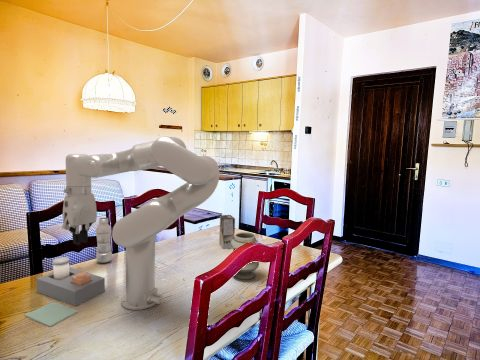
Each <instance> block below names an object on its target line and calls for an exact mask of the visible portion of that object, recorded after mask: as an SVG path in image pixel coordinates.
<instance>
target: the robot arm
mask: <svg viewBox="0 0 480 360" xmlns="http://www.w3.org/2000/svg"><path fill="white" fill-rule="evenodd" d="M159 167H162V168H164V169H165V170H167V171H169V172H170V173H172V174H173V175H174V176H176V177H178V178H179V179H181V180H183V181H184V182H186V183H184V184H182V185H180V186H179V187H177V188H176V189H174V190H172V191H171V192H168V193H167V194H165V195H162V196H160V197H157V198H155V199H152V200H150V201H149V202H147V203H145V204H143V205H142V206H140V207H138V208H137V209H135V210H134V211H132V212H130V213H128V214H126V215H125V216H123V217H121V218H120V219H119V220H117V221H116V222H115V224H114V226H113V227H112V229H111V236H112V240H113V242H114V243H115V244H116V245H118V246H119V247H121V248H125V294H124V295H123V296H122V297H121V300H120V305H121V306H122V307H123V308H124V309H127V310H131V311H140V310H146V309H149V308H151V307H154V306H155V305H160V304H161V302H162V299H163V297H164V296H163V294H160V293H159V292H158V287H156V284H155V283H156V279H155V278H156V277H155V276H156V241H157V240H156V239H157V235H158V234H160V233H161V232H163V231H165V230H166V229H167V228H169V227H170V226H171V225H173V224H174V223H175V222H176V221H177V220H179V218H181V217H183V216H184V215H186V214H188V213H190V212H191V211H193V210H194V209H196V208H197V207H199V206H200V205H201V204H203V203H205V202H206V201H208V200H209V198H210V197H211V196H212V195H213V194H214V192H215V190H216V189H217V187H218V185H219V181H220V167H219V165H218V162H217V161H216V160H215V159H214V158H213V157H211V156H210V155H209V156H208V155H200V156H199V155H197V154H195V153H194V152H192V151H191V150H189V149H188V148H187V146H186V143H185V142H184V141H183V140H182V139H181V138H179V137H176V136H160V137H158V138H156V139H155V140H152V141H147V142H142V143H137V144H134V145H133V146H132V148H130V149H126V150H122V151H119V152H112V153H101V154H90V155H89V154H86V153H71V154H67V155H66V156H65V184H66V185H65V186H66V188H64V189H63V191H62V192H63V193H64V194H66V195H64V199H63V205H62V206H63V207H62V226H61V229H63V230H66V231H69V232H70V233H71V234H72V244H73V245H77V246H80V245H81V244H82V243H85V244H86V243H88V242H89V241H88V239H89V231H90V228H91V227H92V226H93V224H95V223H96V222H97V219H98V212H97V211H98V210H97V203H96V202H97V201H96V198H95V194H94V193H92V178H93V179H95V178H96V179H97V178H103V177H107V176H114V175H118V174H123V173H128V172H132V171H144V170H149V169H155V168H159Z"/></svg>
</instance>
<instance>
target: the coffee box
mask: <svg viewBox="0 0 480 360" xmlns="http://www.w3.org/2000/svg"><path fill="white" fill-rule="evenodd" d="M235 225H236V218H235V217H234V216H233V215H232V214H221V215H219V239H218V240H219V241H218V242H219V245H220V247H221V248H222V249H223V250H226V249H233V248H232V247H231V241H232V240H233V239H234V238H235V234H236V233H235V232H236V230H235V227H236V226H235Z"/></svg>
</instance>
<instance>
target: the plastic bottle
mask: <svg viewBox="0 0 480 360" xmlns="http://www.w3.org/2000/svg"><path fill="white" fill-rule="evenodd" d="M98 223H99V224H98V225H97V226H96V228H95V236H96V242H97V243H96V244H97V245H96V246H97V247H96V248H97V249H96V256H95V258H96V261H97V262H98V263H99V264H100V263H101V264H104V263H105V264H106V263H109V262H111V260H112V259H113V252H112V247H111V236H112V227H111V225H110V224H108V223H109V217H99V219H98Z"/></svg>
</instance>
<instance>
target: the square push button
mask: <svg viewBox="0 0 480 360" xmlns="http://www.w3.org/2000/svg"><path fill="white" fill-rule="evenodd" d="M85 272H86V271H83V272H82V273H78V274H76V275H75V276H73V277H72V284H75V285H78V286H81V285H84V284H86V283H88V282H90V281H91V275H88V274H87V273H88V272H87V273H85Z"/></svg>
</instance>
